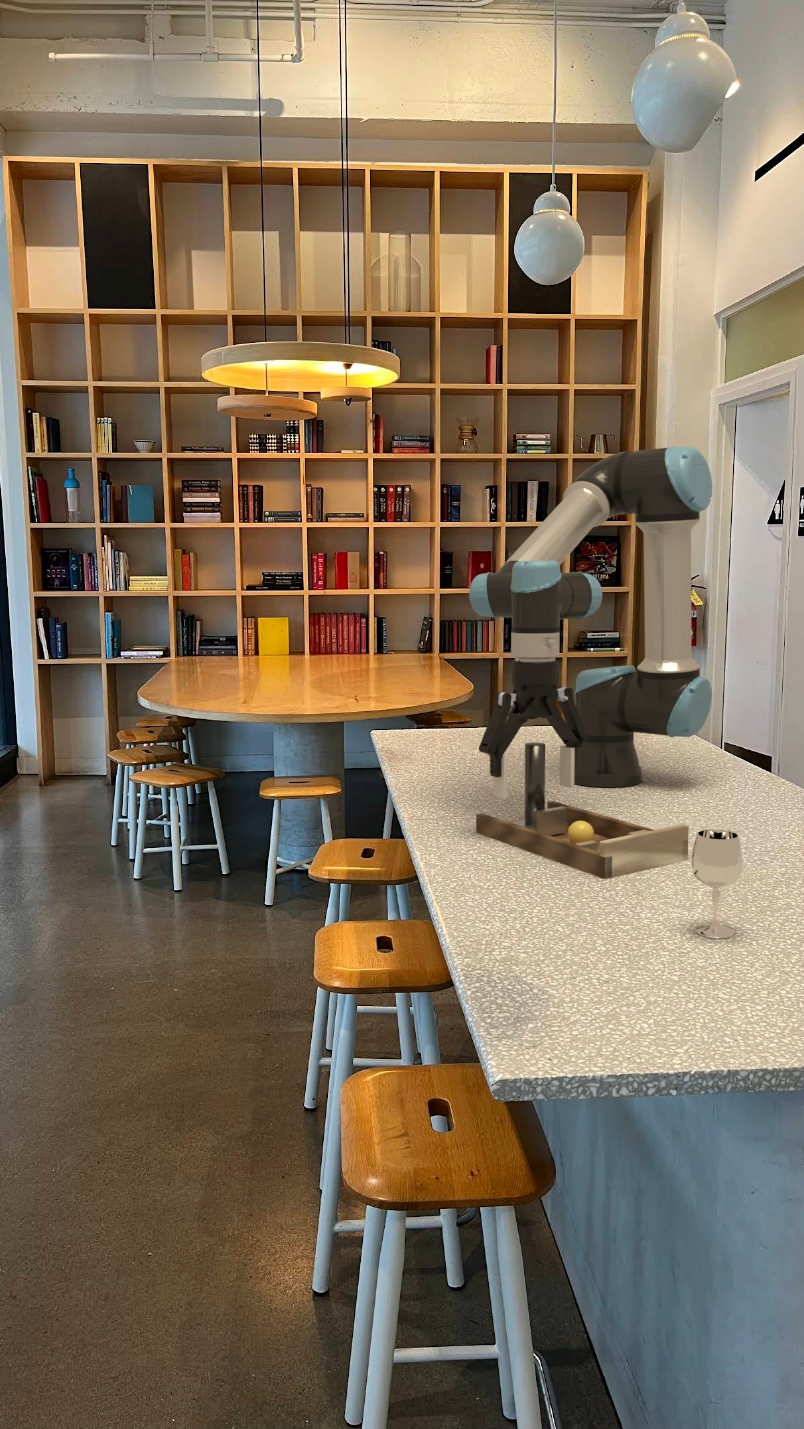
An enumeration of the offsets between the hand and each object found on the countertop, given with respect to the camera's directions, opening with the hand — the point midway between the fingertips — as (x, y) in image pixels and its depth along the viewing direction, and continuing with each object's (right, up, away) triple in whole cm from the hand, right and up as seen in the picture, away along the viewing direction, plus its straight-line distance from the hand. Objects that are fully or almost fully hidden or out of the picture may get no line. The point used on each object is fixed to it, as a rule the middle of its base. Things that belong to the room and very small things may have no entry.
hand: (534, 791), depth 163 cm
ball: (+6, -8, -8) cm, 13 cm away
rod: (0, -6, +1) cm, 6 cm away
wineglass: (+16, -14, -41) cm, 46 cm away
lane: (+5, -9, -7) cm, 13 cm away
